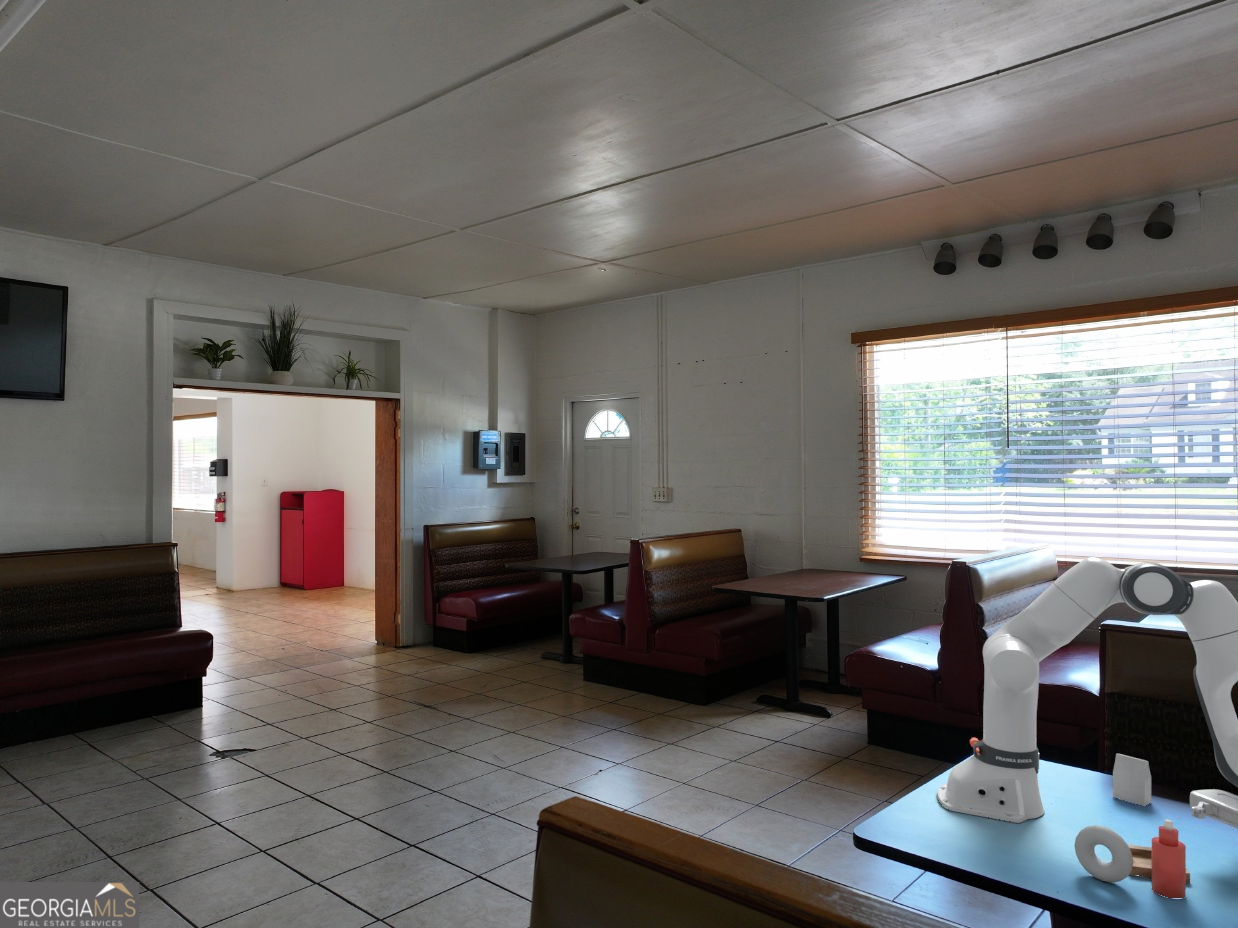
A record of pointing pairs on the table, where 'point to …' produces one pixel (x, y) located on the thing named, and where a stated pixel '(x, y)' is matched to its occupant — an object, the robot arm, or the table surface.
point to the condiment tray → (1144, 862)
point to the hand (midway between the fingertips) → (1219, 823)
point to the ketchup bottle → (1168, 863)
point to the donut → (1115, 844)
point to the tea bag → (1132, 780)
